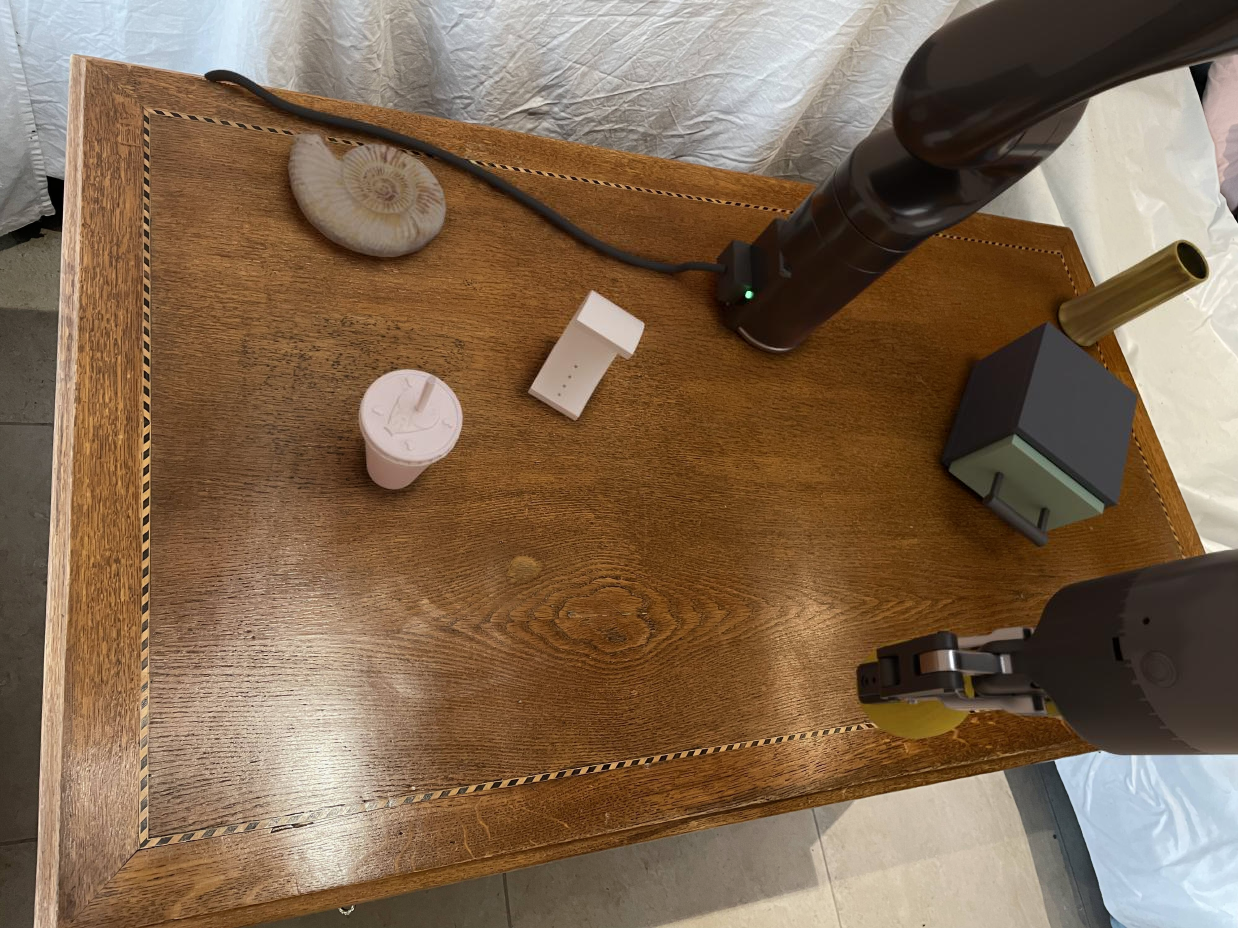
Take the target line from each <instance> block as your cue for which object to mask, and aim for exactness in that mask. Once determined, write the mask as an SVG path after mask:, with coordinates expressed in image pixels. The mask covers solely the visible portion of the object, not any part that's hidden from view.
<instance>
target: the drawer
mask: <svg viewBox="0 0 1238 928" xmlns="http://www.w3.org/2000/svg"><path fill="white" fill-rule="evenodd" d="M948 472H949V473H951V474H952V475H953V476H955V477H956V478H957V479H958V480H959V481H961V482H962V483H964V485H966V486H967V487H969V488H970V489H971V490H973V491H974V492H975V493H977V494H978V495H979V496H981V497H982V498H983V499H982V501H981V505H982V506H983V507H985V508H986V509H987V510H988V511H990V512H992V513H993V514H994V515H996V516H997V517H998V518H1000V519H1001V520H1002V521H1003V522H1005V523H1006V524H1007V525H1008V526H1010V527H1011V528H1013V529H1014V530H1015V531H1016V532H1018V533H1019V534H1020V535H1021V536H1023V537H1024V538H1026V539H1027V540H1028V541H1029V542H1031V543H1032V544H1034V545H1035V546H1036V547H1038V548H1042V547H1044V546H1045V545H1046V544H1047V543H1048V542H1049V540H1050V536H1049V535H1048V534H1047V533H1046V532H1049V531H1051V530H1055V529H1057V528H1061V527H1065V526H1068V525H1072V524H1074V523H1079V522H1080V521H1085V520H1087V519H1091V518H1093V517H1097V516H1100V515H1102V514H1103V513H1104V509H1103V508H1104V504H1103V503H1102V502H1101V501H1100V500H1098V499H1097V498H1096V497H1095V496H1093V495H1092V494H1091V492H1090V491H1089V490H1088V489H1087V488H1085V487H1084V486H1083V485H1082V484H1080V483H1079V482H1078V481H1076V480H1075V479H1074V478H1073V477H1071V476H1070V475H1069V474H1068V473H1066V472H1065V471H1064V470H1062V469H1061V468H1060V467H1059V466H1057V465H1056V464H1055V463H1054V462H1052V461H1051V460H1050V459H1048V458H1047V457H1046V456H1045V455H1043V454H1042V453H1041V452H1040V451H1038V450H1037V449H1036V448H1034V447H1033V446H1032V445H1031V444H1029V443H1028V442H1027V441H1026V440H1024V439H1023V438H1022V437H1020V436H1019V435H1018V434H1013V435H1010V436H1008V437H1006V438H1004V439H1002V440H999V441H997V442H995V443H993V444H991V445H988V446H986V447H984V448H982V449H980V450H977V451H975V452H973V453H971V454H969V455H967V456H964V457H962V458H960V459H958V460H956V461H953V462H952V463H951V466H950V468H948Z"/></svg>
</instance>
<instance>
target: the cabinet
mask: <svg viewBox="0 0 1238 928" xmlns="http://www.w3.org/2000/svg"><path fill="white" fill-rule="evenodd" d="M965 386H966V387H965V388H964V389H965V390H964V392H963V395H962V398H961V400H960V404H959V408H958V409H957V412H956V415H955V419H954V421H953V425H952V428H951V430H950V433H949V436H948V439H947V441H946V445H945V449H944V451H943V454H942V457H941V460H940V463H942V464H943V465H944V466H946V467H947V468H948V469H950V466H951V463H952V462H953V461H956V460H958V459H960V458H962V457H964V456H967V455H969V454H971V453H973V452H975V451H977V450H980V449H982V448H984V447H986V446H988V445H991V444H993V443H995V442H997V441H999V440H1002V439H1004V438H1006V437H1008V436H1010V435H1013V434H1018V435H1019V436H1020V437H1022V438H1023V439H1024V440H1026V441H1027V442H1028V443H1029V444H1031V445H1032V446H1033V447H1034V448H1036V449H1037V450H1038V451H1040V452H1041V453H1042V454H1043V455H1045V456H1046V457H1047V458H1048V459H1050V460H1051V461H1052V462H1054V463H1055V464H1056V465H1057V466H1059V467H1060V468H1061V469H1062V470H1064V471H1065V472H1066V473H1068V474H1069V475H1070V476H1071V477H1073V478H1074V479H1075V480H1076V481H1078V482H1079V483H1080V484H1082V485H1083V486H1084V487H1085V488H1087V489H1088V490H1089V491H1090V492H1091V494H1092V495H1093V496H1095V497H1096V498H1097V499H1098V500H1100V501H1101V502H1102V503H1103V504H1104V508H1103V510H1106V509H1108V508H1109V509H1110V508H1112V507H1115V506H1118V505H1119V501H1120V495H1121V490H1122V485H1123V479H1124V473H1125V467H1126V462H1127V456H1128V451H1129V446H1130V441H1131V435H1132V430H1133V424H1134V419H1135V414H1136V408H1137V402H1138V397H1139V394H1137V392H1135V391H1134V390H1133V389H1131V387H1129V386H1128V385H1127V384H1125V383H1124V381H1122V380H1120V378H1118V377H1117V376H1116V375H1114V374H1113V373H1112V372H1110V371H1109V370H1108V369H1107V368H1106V367H1105V366H1103V365H1102V364H1101V363H1099V362H1098V361H1097V360H1096V359H1095V358H1094V357H1092V356H1091V355H1090V354H1089V353H1088V352H1086V351H1085V350H1084V349H1082V347H1080V345H1078V344H1077V343H1075V342H1074V341H1072V340H1071V339H1070V338H1069V337H1068V336H1067V335H1066V334H1065V333H1064V332H1062V331H1060V330H1059V329H1058V328H1057V327H1055V326H1054V325H1053V324H1052V323H1051V322H1049V320H1048V321H1047V320H1046V321H1045V322H1043V323H1041V324H1040V325H1038V326H1036V327H1034V328H1032V329H1031V330H1029V331H1028V332H1026V333H1024V334H1023V335H1020V336H1019V337H1017V338H1016V339H1014V340H1012V341H1011V342H1009V343H1007V344H1005V345H1004V346H1001V347H1000V348H998V349H997V350H994V351H993V352H992V353H990V354H988V355H987V356H985V357H983V358H981V359H980V360H978V361H976V362H975V363H973V365H972V369H971V372H970V375H969V378H968V380H967V383H966V385H965Z"/></svg>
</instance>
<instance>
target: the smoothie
mask: <svg viewBox="0 0 1238 928" xmlns="http://www.w3.org/2000/svg"><path fill="white" fill-rule="evenodd" d="M358 425H359V426H358V427H359V428H360V432H361V434H362V438H363V439H364V442H365V445H364V446H365V459H366V469H367V473H368V475H369V477H370V478H371V479H372V481H373V482H374V483H375V484H377V485H378V486H380V487H383V488H384V489H387V490H388V489H389V490H399V489H403V488H405V487H407V486H409V485H410V484H411V483H413V482H414V481H415V480H416V479H418V477H419V476H420V475H421V474H422V473H423V472H424V471H425V470H426V469H427V468H428V467H430V466H431V464H435V463H436V462H438V461H440V460H441V459H443V458H444V457H446V456H447V455H448V454H449V453H450V452H451V451H452V450H453V448H454V447H455V446H456V443H457V441H458V440H459V437H460V434H461V431H462V428H463V409H462V406H461V403H460V401H459V398H458V396H457V395H456V394H455V392H454V391H453V389H452V388H451V387H449V385H447V384H446V383H445V382H444V381H443V380H441V379H440V378H439V377H437V376H436V375H433V374H431V373H428V372H426V371H422V370H418V369H406V368H405V369H397V370H393V371H390V372H386V373H385V374H383V375H382V376H380V377H378V378H377V379H376V380H374V382H372V383H371V385H370V386H369V387H368V388H367V389H366V391H365V393H364V396H363V397H362V399H361V401H360V405H359V410H358Z"/></svg>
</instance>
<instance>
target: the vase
mask: <svg viewBox="0 0 1238 928" xmlns="http://www.w3.org/2000/svg"><path fill="white" fill-rule="evenodd" d="M1209 277H1210V267H1209V264H1208V261H1207V258H1206V257H1205V255H1204V254H1203V252H1202V251H1201V250H1200V248H1198V247H1197V245H1195V244H1194V243H1193V242H1191V241H1189V240H1186V239H1181V238H1180V239H1178V240H1175V241H1173V242H1171V243H1169V244H1168V245H1166V246H1165V247H1163V248H1162V249H1159V250H1158V251H1156V252H1154V253H1153V254H1151V255H1149V256H1148V257H1146V258H1144V259H1142V260H1140V262H1138V263H1136V264H1134V265H1132V266H1130V267H1129V268H1126V269H1125V270H1123V271H1121V272H1119V273H1117V274H1116V275H1113V276H1112V277H1110V278H1108V279H1106V280H1104V281H1103V282H1101V283H1099V284H1097V285H1096V286H1094V287H1092V288H1091V289H1089V290H1087V291H1086V292H1084V293H1082V294H1079V295H1078V296H1076V297H1074V298H1072V299H1070V300H1068V301H1065V302H1063V303H1062V304H1060V306H1059V308H1058V313H1057V317H1058V321H1059V325H1060V327H1061V329H1062V331H1063V333H1064V334H1065V336H1066V337H1068V338H1069V339H1070V340H1071V341H1073V342H1074V343H1075V344H1076V345H1078V346H1082V347H1090V346H1092V345H1093V344H1094V343H1096V342H1097V341H1099V340H1100V339H1102V338H1104V337H1106V336H1107V335H1109V334H1110V333H1112V332H1113V331H1116V330H1118V329H1119V328H1120V327H1122V326H1125V325H1126V324H1127V323H1130V322H1131V321H1133V320H1135V319H1138V318H1140V317H1141V316H1143V315H1144V314H1147V313H1148V312H1150V311H1153V310H1154V309H1155V308H1158V307H1159V306H1161V305H1163V304H1165V303H1167V302H1168V301H1171V300H1172V299H1174V298H1176V297H1178V296H1180V295H1182V294H1184V293H1187V292H1188V291H1189V290H1192V289H1193V288H1194V287H1197V286H1199V285H1200V284H1202V283H1204V282H1206V281H1207V280H1208V279H1209Z"/></svg>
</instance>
